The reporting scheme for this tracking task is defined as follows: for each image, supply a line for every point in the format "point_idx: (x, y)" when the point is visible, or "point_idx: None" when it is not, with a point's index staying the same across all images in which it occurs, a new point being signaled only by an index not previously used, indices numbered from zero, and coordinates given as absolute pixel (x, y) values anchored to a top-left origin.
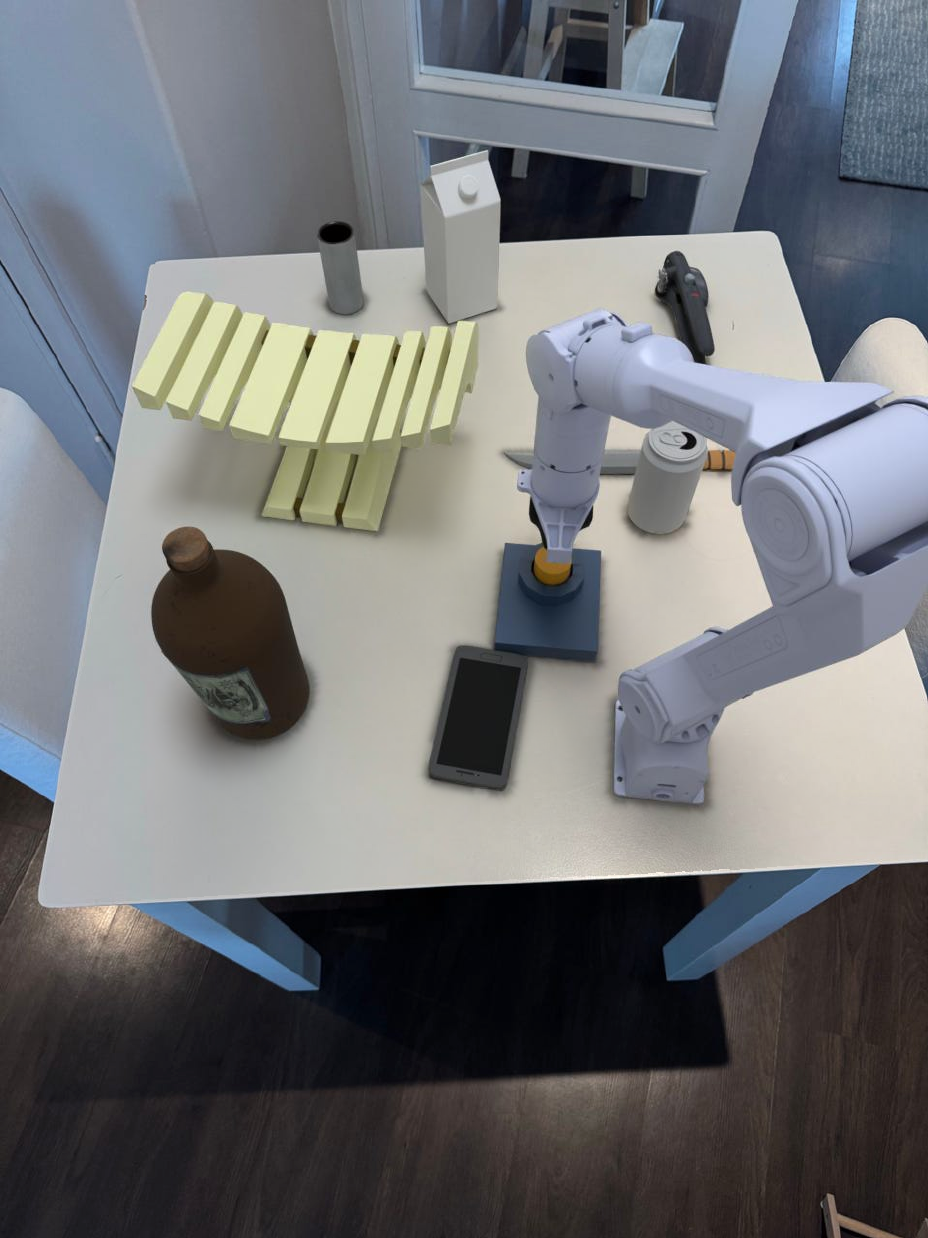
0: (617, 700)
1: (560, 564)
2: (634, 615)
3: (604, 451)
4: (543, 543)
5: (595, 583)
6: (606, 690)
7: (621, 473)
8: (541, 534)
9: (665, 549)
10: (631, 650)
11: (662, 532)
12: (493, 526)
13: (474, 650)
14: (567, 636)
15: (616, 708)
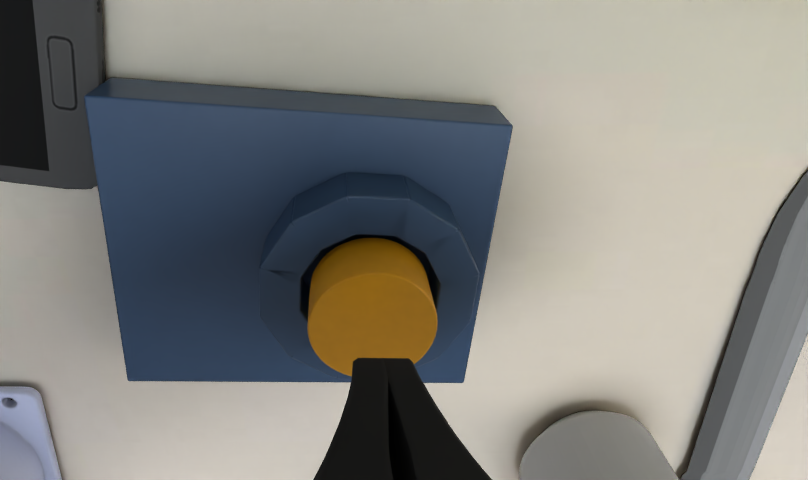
0: (31, 395)
1: (349, 350)
2: (299, 415)
3: (791, 361)
4: (351, 382)
5: None
6: (68, 364)
7: (712, 393)
8: (330, 445)
9: (482, 465)
10: (198, 410)
11: (520, 476)
12: (610, 68)
13: (73, 12)
14: (160, 312)
15: (4, 394)
